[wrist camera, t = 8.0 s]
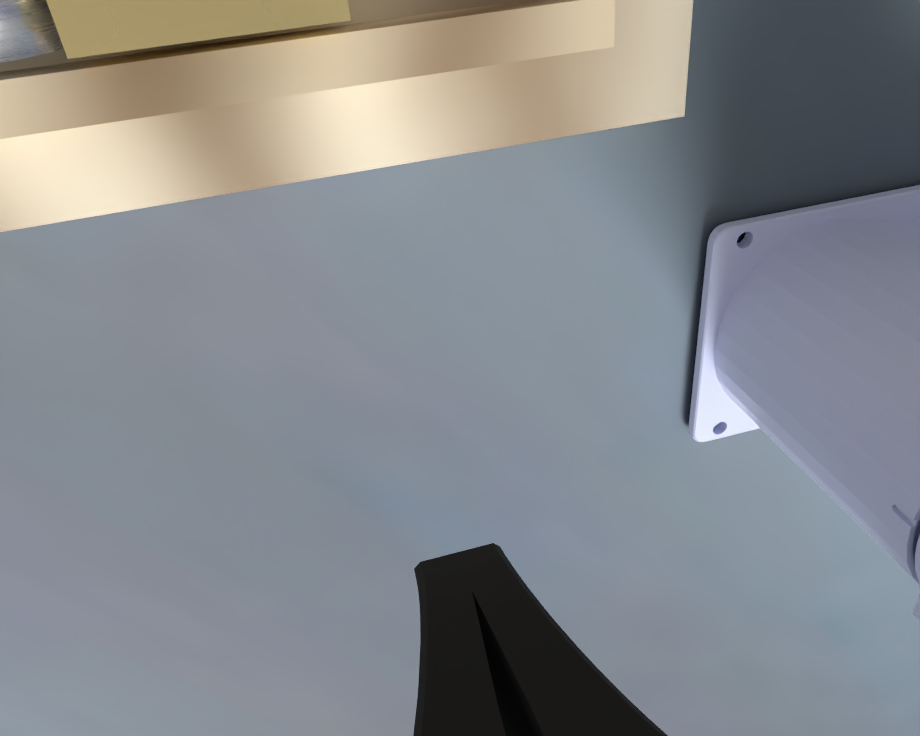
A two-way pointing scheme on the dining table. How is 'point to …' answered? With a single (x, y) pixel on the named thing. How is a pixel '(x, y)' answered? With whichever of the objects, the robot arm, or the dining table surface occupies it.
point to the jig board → (328, 99)
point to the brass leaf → (179, 21)
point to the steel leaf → (26, 30)
